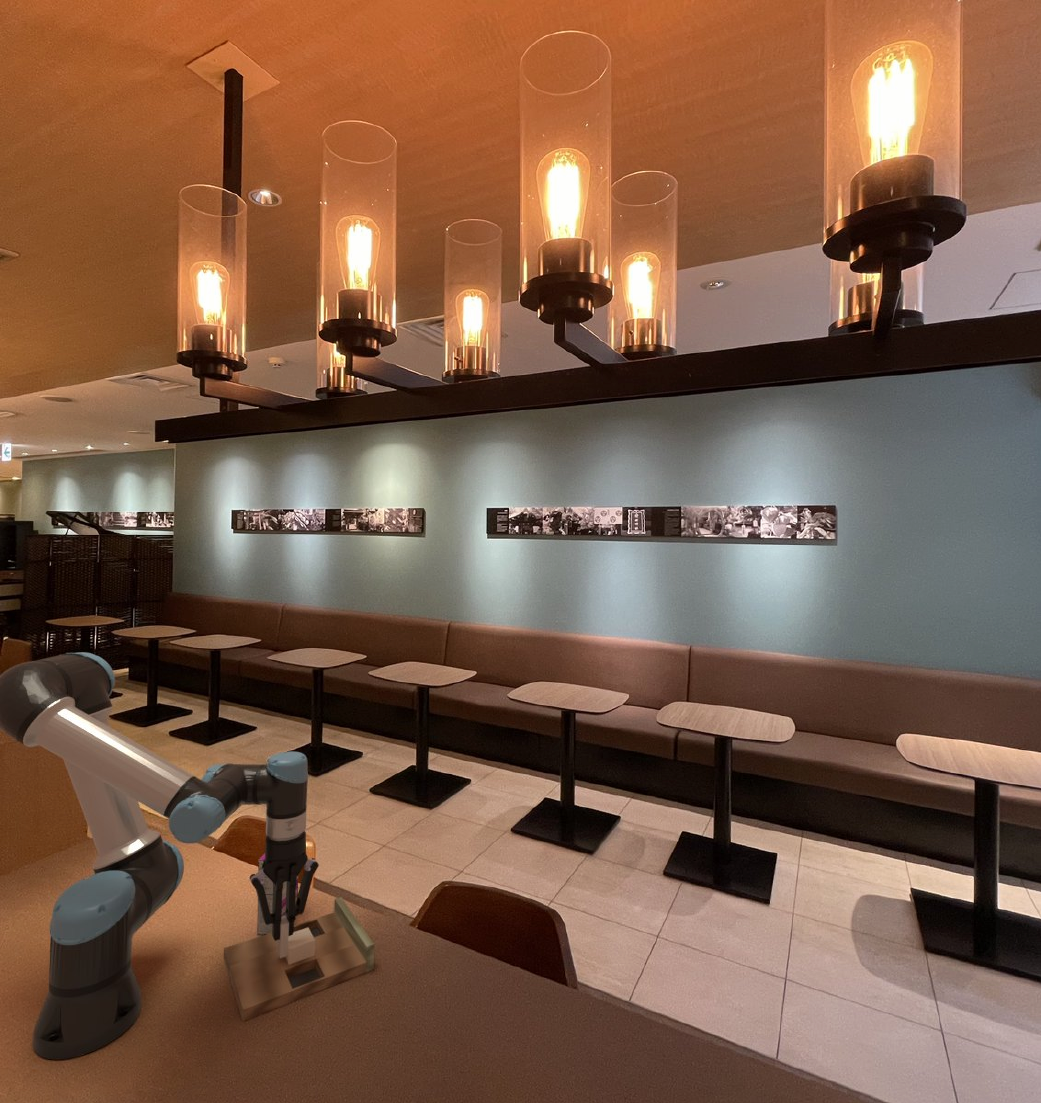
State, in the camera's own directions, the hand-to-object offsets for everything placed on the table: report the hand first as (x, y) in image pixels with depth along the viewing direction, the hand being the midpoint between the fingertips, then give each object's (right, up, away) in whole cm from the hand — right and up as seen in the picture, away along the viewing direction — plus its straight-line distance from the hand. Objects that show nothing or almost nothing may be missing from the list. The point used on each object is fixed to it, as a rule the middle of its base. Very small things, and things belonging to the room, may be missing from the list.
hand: (282, 953), depth 117 cm
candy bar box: (-7, -4, +16) cm, 18 cm away
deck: (+2, -3, +2) cm, 4 cm away
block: (+2, -1, +2) cm, 3 cm away
